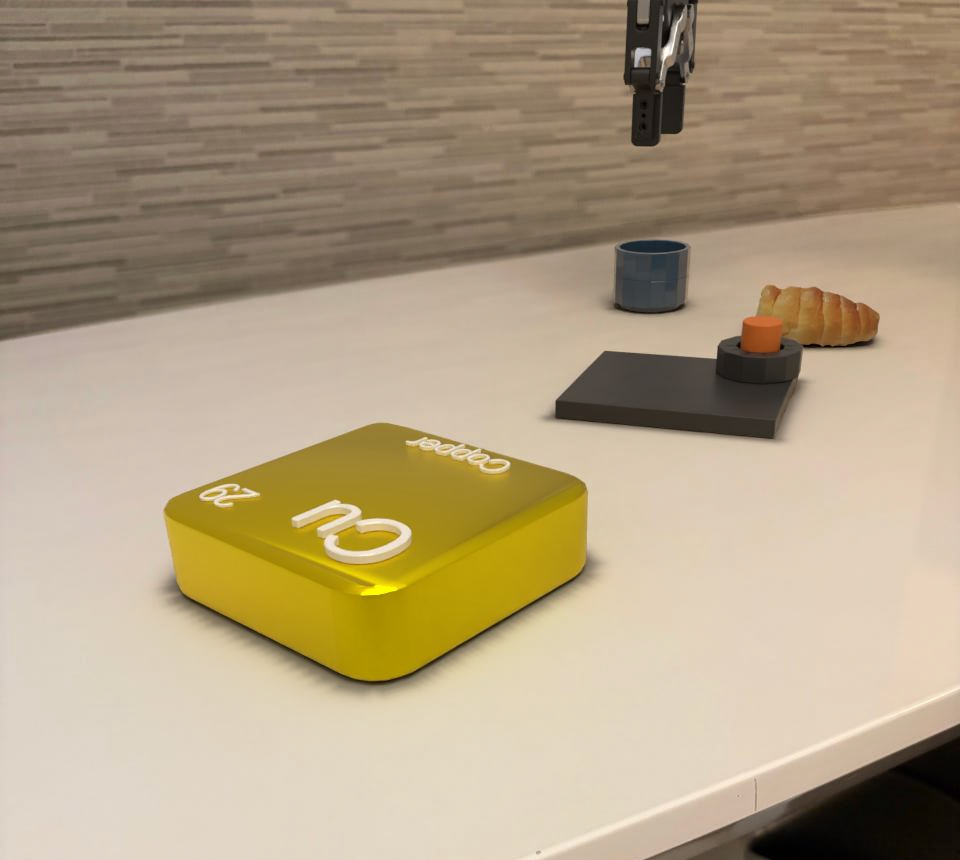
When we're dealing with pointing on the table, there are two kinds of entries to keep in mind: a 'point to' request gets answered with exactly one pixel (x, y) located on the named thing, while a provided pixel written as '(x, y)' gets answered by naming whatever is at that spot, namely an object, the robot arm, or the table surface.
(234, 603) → the element tile
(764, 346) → the button
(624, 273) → the blue cup
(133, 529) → the table surface
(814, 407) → the table surface
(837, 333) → the pastry
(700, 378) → the scale
